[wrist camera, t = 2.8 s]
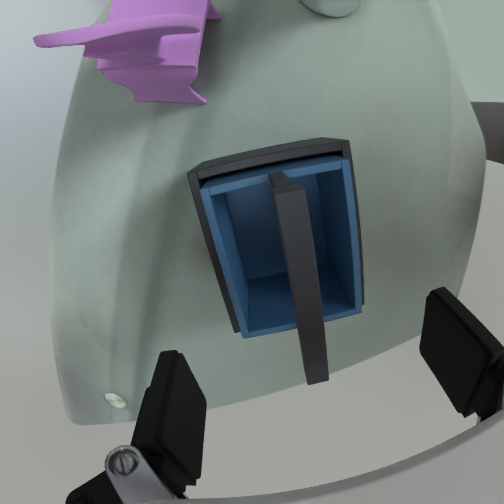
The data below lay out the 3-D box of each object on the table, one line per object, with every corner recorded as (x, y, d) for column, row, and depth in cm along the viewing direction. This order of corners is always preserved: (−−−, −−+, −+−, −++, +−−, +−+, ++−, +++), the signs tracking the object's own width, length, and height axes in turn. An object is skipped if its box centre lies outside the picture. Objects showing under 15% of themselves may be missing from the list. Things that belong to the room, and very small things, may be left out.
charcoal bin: (322, 137, 23) (349, 139, 17) (341, 267, 27) (364, 304, 21) (201, 162, 23) (186, 173, 17) (236, 289, 28) (234, 333, 22)
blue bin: (316, 149, 22) (391, 173, 10) (332, 263, 26) (389, 363, 14) (214, 170, 23) (178, 216, 11) (243, 283, 27) (242, 396, 15)
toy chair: (234, 12, 18) (224, -101, 4) (218, 105, 21) (177, 64, 8) (140, 12, 17) (52, -67, 4) (123, 101, 21) (-1, 87, 7)
